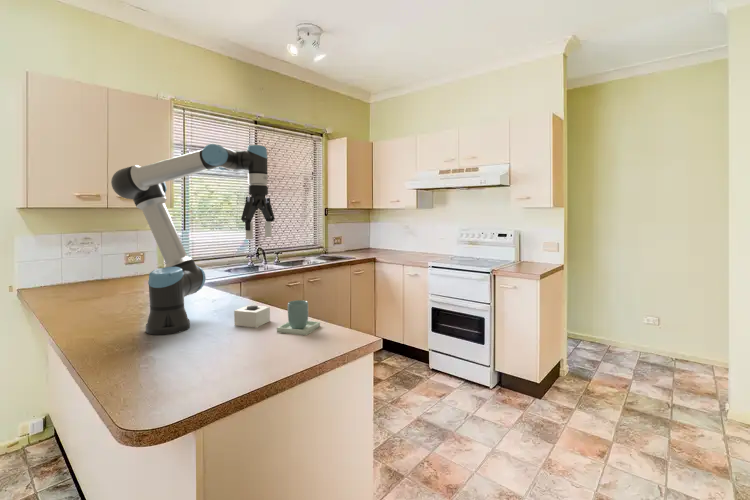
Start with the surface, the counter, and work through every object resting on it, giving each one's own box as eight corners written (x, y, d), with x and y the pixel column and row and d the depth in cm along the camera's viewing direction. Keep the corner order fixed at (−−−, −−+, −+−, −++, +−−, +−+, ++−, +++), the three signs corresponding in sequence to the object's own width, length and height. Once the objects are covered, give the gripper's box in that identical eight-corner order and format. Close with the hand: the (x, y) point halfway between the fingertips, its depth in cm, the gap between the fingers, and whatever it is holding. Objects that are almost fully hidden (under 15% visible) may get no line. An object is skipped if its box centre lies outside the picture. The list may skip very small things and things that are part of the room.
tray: (277, 332, 148) (276, 327, 148) (292, 323, 160) (292, 319, 159) (306, 335, 145) (306, 330, 144) (320, 326, 156) (320, 321, 156)
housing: (234, 325, 157) (234, 310, 156) (249, 318, 166) (248, 305, 166) (256, 327, 154) (256, 312, 153) (270, 320, 163) (269, 306, 163)
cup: (289, 331, 147) (288, 305, 146) (286, 325, 154) (286, 300, 153) (310, 329, 150) (309, 303, 149) (306, 324, 157) (306, 299, 156)
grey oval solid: (245, 322, 159) (244, 307, 158) (251, 319, 163) (250, 305, 162) (254, 322, 157) (253, 308, 157) (260, 320, 161) (259, 305, 161)
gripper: (247, 182, 144) (249, 240, 146) (282, 187, 168) (283, 236, 170) (230, 182, 146) (232, 239, 148) (266, 187, 170) (267, 236, 172)
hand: (259, 238), depth 159 cm, fingers open, 13 cm apart
